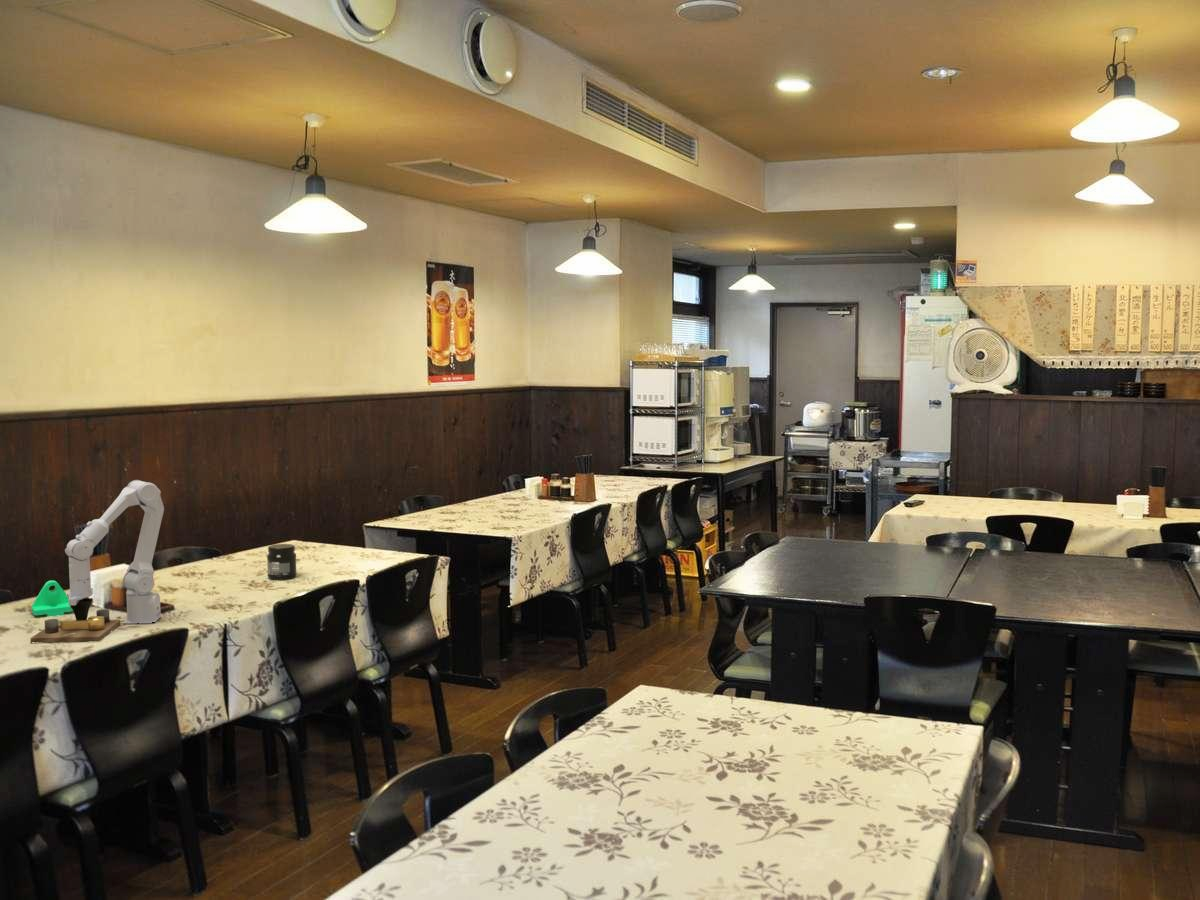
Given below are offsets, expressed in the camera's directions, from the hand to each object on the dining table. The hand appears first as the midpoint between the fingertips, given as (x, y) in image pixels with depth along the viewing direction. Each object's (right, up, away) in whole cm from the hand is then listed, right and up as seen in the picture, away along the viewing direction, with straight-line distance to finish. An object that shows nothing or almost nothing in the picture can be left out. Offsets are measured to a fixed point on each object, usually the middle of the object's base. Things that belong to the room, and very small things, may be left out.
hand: (81, 623), depth 327 cm
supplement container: (+38, +4, +77) cm, 86 cm away
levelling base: (0, -3, -3) cm, 4 cm away
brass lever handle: (+2, -1, -4) cm, 4 cm away
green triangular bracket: (-19, -1, +22) cm, 29 cm away
